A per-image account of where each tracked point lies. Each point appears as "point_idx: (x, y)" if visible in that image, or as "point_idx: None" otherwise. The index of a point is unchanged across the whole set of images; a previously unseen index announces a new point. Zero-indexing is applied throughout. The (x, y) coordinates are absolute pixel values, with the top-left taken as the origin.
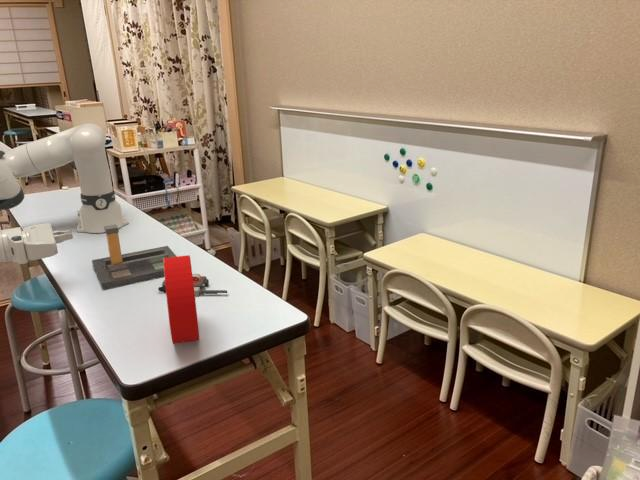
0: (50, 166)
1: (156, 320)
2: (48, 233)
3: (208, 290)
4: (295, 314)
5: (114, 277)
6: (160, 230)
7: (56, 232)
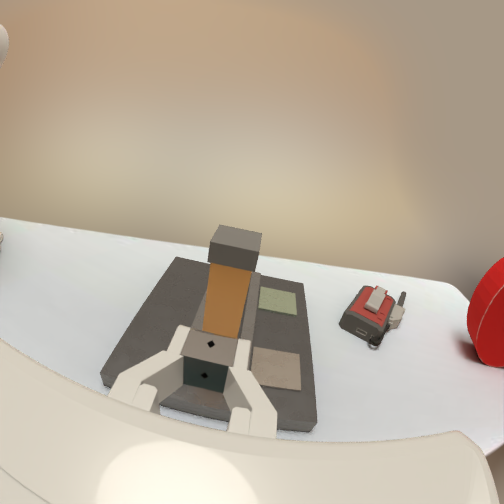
0: None
1: (459, 374)
2: (227, 466)
3: (401, 302)
4: (444, 283)
5: (295, 387)
6: (74, 233)
7: (155, 395)
